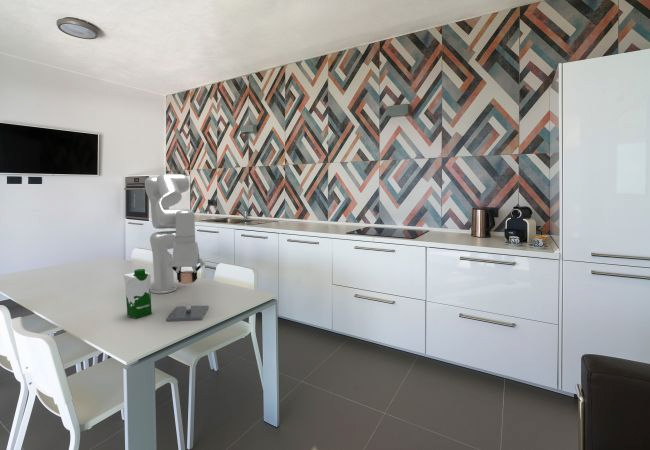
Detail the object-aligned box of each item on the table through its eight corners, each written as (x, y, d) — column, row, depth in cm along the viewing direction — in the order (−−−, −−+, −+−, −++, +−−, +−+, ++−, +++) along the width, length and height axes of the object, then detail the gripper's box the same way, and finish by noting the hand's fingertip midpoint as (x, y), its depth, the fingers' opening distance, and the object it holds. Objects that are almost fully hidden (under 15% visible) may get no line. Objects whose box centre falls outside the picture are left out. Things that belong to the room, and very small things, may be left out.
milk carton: (134, 320, 139) (131, 273, 136) (123, 315, 144) (120, 269, 142) (154, 313, 146) (152, 268, 144) (144, 309, 151) (142, 265, 149)
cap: (179, 284, 141) (178, 274, 140) (182, 280, 146) (182, 271, 146) (192, 283, 142) (191, 273, 141) (195, 280, 147) (194, 270, 146)
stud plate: (166, 321, 138) (165, 311, 137) (176, 309, 152) (176, 300, 151) (201, 320, 139) (201, 310, 139) (208, 308, 153) (208, 299, 153)
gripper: (161, 241, 137) (163, 284, 139) (204, 240, 139) (205, 283, 141) (167, 238, 144) (169, 279, 146) (208, 238, 146) (209, 278, 149)
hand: (187, 280), depth 144 cm, fingers closed on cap, 5 cm apart
